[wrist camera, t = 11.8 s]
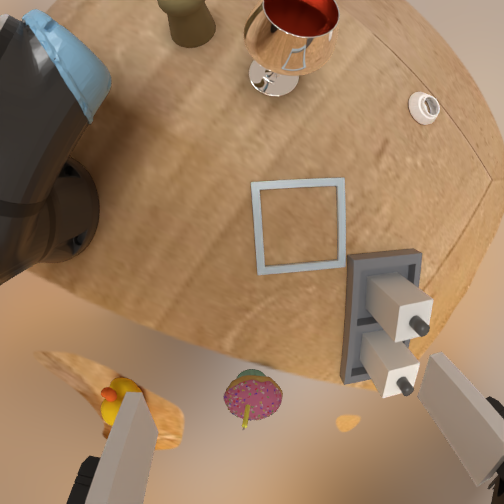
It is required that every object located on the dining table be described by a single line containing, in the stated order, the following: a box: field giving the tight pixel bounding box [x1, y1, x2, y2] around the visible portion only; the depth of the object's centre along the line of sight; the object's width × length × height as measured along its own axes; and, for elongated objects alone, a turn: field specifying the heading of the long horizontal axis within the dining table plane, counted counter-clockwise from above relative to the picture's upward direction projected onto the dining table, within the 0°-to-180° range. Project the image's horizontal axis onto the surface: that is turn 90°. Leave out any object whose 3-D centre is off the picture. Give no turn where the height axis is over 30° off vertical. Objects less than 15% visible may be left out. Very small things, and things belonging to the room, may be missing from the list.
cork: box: [157, 0, 216, 48], centre depth 25 cm, size 6×6×11 cm
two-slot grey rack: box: [340, 249, 422, 385], centre depth 42 cm, size 11×21×2 cm, turn 4°
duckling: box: [101, 378, 143, 426], centre depth 40 cm, size 11×5×10 cm, turn 4°
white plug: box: [360, 330, 420, 398], centre depth 38 cm, size 5×5×12 cm
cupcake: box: [224, 369, 283, 430], centre depth 39 cm, size 9×8×12 cm
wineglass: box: [244, 0, 340, 96], centre depth 24 cm, size 8×8×18 cm
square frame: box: [251, 178, 346, 275], centre depth 38 cm, size 12×12×1 cm
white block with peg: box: [366, 272, 433, 343], centre depth 35 cm, size 5×5×12 cm
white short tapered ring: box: [409, 92, 440, 125], centre depth 33 cm, size 5×3×5 cm
